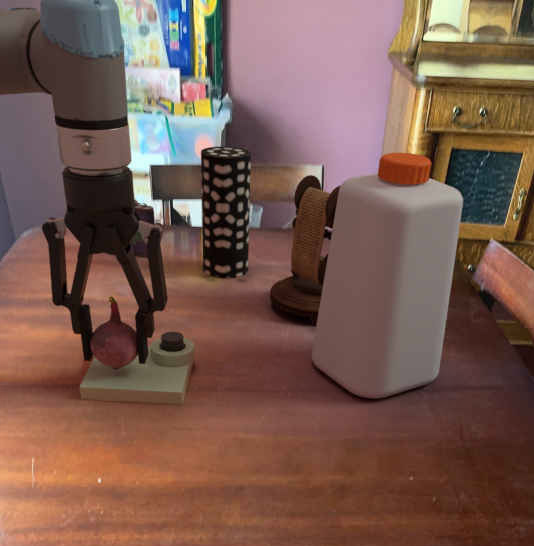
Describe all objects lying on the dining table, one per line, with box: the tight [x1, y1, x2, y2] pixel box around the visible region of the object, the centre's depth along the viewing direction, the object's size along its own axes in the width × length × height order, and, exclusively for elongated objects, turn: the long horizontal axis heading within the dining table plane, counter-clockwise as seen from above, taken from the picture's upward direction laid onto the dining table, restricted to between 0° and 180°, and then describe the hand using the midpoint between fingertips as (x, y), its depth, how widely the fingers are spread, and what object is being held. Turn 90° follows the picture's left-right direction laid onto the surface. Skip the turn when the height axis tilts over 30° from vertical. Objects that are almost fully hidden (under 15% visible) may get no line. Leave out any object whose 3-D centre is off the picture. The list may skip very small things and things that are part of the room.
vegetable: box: [90, 295, 138, 370], centre depth 86 cm, size 6×6×10 cm
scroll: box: [269, 174, 341, 326], centre depth 106 cm, size 15×15×20 cm
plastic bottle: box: [311, 152, 464, 399], centre depth 87 cm, size 15×15×28 cm
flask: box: [130, 199, 156, 258], centre depth 126 cm, size 9×3×11 cm, turn 76°
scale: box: [79, 336, 196, 406], centre depth 90 cm, size 13×12×4 cm
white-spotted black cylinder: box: [200, 146, 252, 279], centre depth 118 cm, size 8×8×20 cm
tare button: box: [160, 331, 184, 352], centre depth 91 cm, size 3×3×2 cm
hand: (116, 357), depth 87 cm, fingers closed on vegetable, 6 cm apart
